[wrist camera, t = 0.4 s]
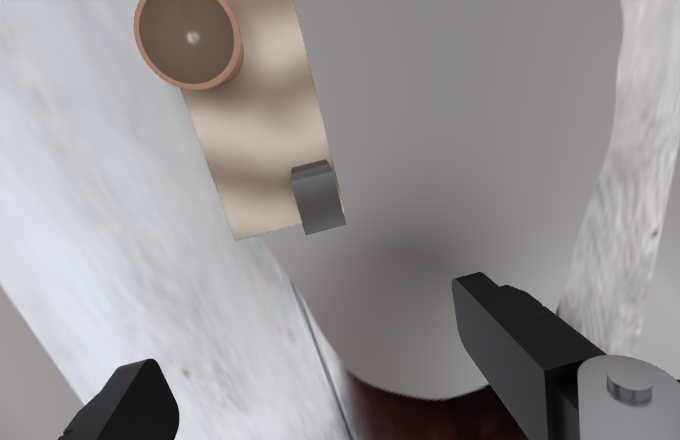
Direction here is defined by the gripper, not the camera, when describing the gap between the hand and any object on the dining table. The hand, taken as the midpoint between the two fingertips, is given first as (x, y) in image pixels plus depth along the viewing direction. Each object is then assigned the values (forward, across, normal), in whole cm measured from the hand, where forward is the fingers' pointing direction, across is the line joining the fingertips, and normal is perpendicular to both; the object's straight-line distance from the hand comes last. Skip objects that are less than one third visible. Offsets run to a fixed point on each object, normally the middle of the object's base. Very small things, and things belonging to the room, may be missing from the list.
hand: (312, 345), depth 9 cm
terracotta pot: (+22, +4, -12) cm, 25 cm away
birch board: (+23, +2, -9) cm, 25 cm away
